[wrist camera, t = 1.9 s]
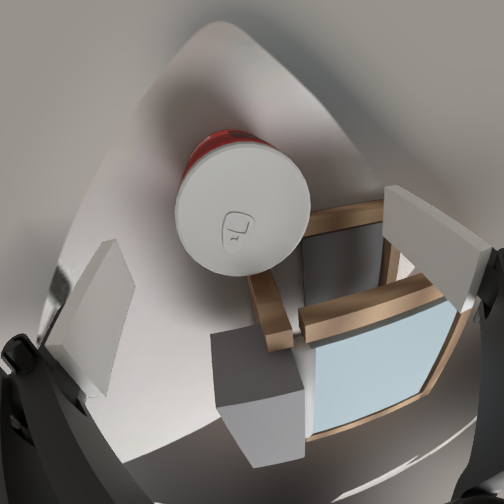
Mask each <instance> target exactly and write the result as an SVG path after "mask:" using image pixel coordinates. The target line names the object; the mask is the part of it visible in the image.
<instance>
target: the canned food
mask: <svg viewBox="0 0 504 504" xmlns="http://www.w3.org/2000/svg"><path fill="white" fill-rule="evenodd" d="M310 209H311V203H310V193H309V190H308V186H307V183H306V180H305V179H304V177H303V175H302V173H301V171H300V170H299V169H298V167H297V166H296V165H295V164H294V162H293V161H292V160H291V159H290V158H289V157H288V156H286V155H285V154H284V153H282V152H281V151H280V150H278V149H277V148H275V147H274V146H272V145H270V144H268V143H267V142H265V141H263V140H261V139H259V138H257V137H256V136H254V135H252V134H250V133H247V132H245V131H241V130H235V129H234V130H223V131H219V132H216V133H214V134H211V135H209V136H208V137H206V138H205V139H204V140H202V141H201V142H200V143H199V144H198V145H197V146H196V148H195V149H194V151H193V152H192V154H191V156H190V158H189V161H188V163H187V166H186V169H185V171H184V174H183V177H182V180H181V183H180V185H179V188H178V192H177V196H176V202H175V224H176V229H177V233H178V236H179V239H180V241H181V243H182V245H183V246H184V248H185V250H186V251H187V252H188V254H189V255H190V256H191V257H192V258H193V259H194V260H195V261H196V262H198V263H199V264H200V265H201V266H203V267H205V268H207V269H209V270H211V271H213V272H215V273H219V274H222V275H227V276H249V275H253V274H257V273H261V272H263V271H266V270H268V269H270V268H272V267H274V266H275V265H277V264H279V263H280V262H282V261H283V260H284V259H285V258H286V257H287V256H288V255H290V254H291V253H292V252H293V250H294V249H295V248H296V246H297V245H298V244H299V242H300V241H301V239H302V237H303V235H304V233H305V231H306V228H307V225H308V222H309V217H310Z"/></svg>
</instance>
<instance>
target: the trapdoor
mask: <svg viewBox="0 0 504 504" xmlns="http://www.w3.org/2000/svg"><path fill="white" fill-rule="evenodd" d="M456 312H457V310H456V308H455V307H454V306H453V305H452V304H451V303H450V302H449V301H448V300H447V299H446V298H445V296H443V297H440V298H438V299H436V300H433V301H431V302H428V303H426V304H423V305H421V306H418V307H416V308H413V309H411V310H408V311H405V312H403V313H400V314H397V315H395V316H392V317H389V318H386V319H383V320H381V321H378V322H375V323H372V324H369V325H366V326H363V327H360V328H357V329H353V330H350V331H347V332H344V333H340V334H337V335H334V336H330V337H327V338H323V339H320V340H316V341H312V342H309V343H306V342H305V340H304V337H303V335H302V336H298V337H296V338H295V339H294V340H293V345H294V346H293V347H291V348H290V347H289V348H285V349H281V350H277V351H273V352H268V349H267V345H266V341H265V337H264V333H263V330H262V326H261V324H258V325H254V326H249V327H244V328H239V329H235V330H230V331H224V332H219V333H214V334H210V338H211V353H212V367H213V380H214V392H215V403H216V409H217V411H218V412H219V414H220V416H221V417H222V419H223V421H224V422H225V424H226V426H227V427H228V429H229V431H230V432H231V434H232V435H233V437H234V439H235V441H236V442H237V444H238V445H239V447H240V448H241V450H242V451H243V453H244V455H245V456H246V458H247V459H248V461H249V462H250V464H251V465H252V467H253V468H257V467H262V466H267V465H273V464H277V463H282V462H286V461H291V460H295V459H299V458H302V457H305V438H308V437H310V436H311V435H312V434H313V433H317V432H320V431H324V430H327V429H330V428H333V427H336V426H339V425H342V424H345V423H348V422H351V421H354V420H356V419H359V418H362V417H364V416H367V415H369V414H372V413H374V412H377V411H379V410H382V409H384V408H386V407H389V406H391V405H393V404H396V403H398V402H400V401H402V400H404V399H406V398H408V397H410V396H413V395H415V394H417V393H418V392H419V390H420V389H421V387H422V385H423V383H424V381H425V380H426V378H427V376H428V374H429V372H430V370H431V368H432V366H433V364H434V362H435V360H436V358H437V356H438V354H439V352H440V350H441V348H442V346H443V343H444V341H445V339H446V337H447V334H448V332H449V330H450V327H451V325H452V322H453V320H454V317H455V315H456Z"/></svg>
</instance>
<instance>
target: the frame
mask: <svg viewBox="0 0 504 504" xmlns="http://www.w3.org/2000/svg"><path fill="white" fill-rule="evenodd" d="M383 211H384V199H382V200H376V201H370V202H364V203H358V204H353V205H347V206H341V207H336V208H330V209H325V210H319V211H314V212H310V217H309V222H308V225H307V228H306V231H305V233H304V235H303V237H302V239H301V249H302V263H303V279H304V297H305V307H303V308H299V309H298V317H299V327H300V330H301V332H302V335H303V337H304V340H305V342H306V343H309V342H312V341H316V340H320V339H323V338H327V337H330V336H334V335H337V334H340V333H344V332H347V331H350V330H353V329H357V328H360V327H363V326H366V325H369V324H372V323H375V322H378V321H381V320H383V319H386V318H389V317H392V316H395V315H397V314H400V313H403V312H405V311H408V310H411V309H413V308H416V307H418V306H421V305H423V304H426V303H428V302H431V301H433V300H436V299H438V298H440V297H443V296H444V295H443V294H442V293H441V292H440V291H439V290H438V289H437V288H436V287H435V286H434V285H433V284H432V283H431V282H430V281H429V280H428V279H427V278H426V277H425V276H424V275H423V274H422V273H420V274H417V275H414V276H411V277H408V278H405V279H401V280H398V281H396V277H397V271H398V265H399V258H400V251H399V250H398V249H396V248H395V247H394V246H393V245H392V244H391V243H390V242H389V241H388V240H387V239H386V238H384V237H383V236H382V228H383ZM247 280H248V285H249V290H250V295H251V300H252V305H253V310H254V315H255V320H256V325H258V324H261V326H262V330H263V333H264V337H265V341H266V345H267V349H268V352H273V351H277V350H281V349H285V348H289V347H290V348H291V347H293V346H294V345H293V340H294V339H295V338H293V332H292V327H291V325H290V322H289V319H288V317H287V314H286V311H285V309H284V306H283V303H282V301H281V298H280V295H279V293H278V290H277V288H276V285H275V282H274V280H273V277H272V274H271V272H270V269H268V270H266V271H263V272H261V273H257V274H253V275H249V276H247ZM474 302H475V301H474ZM472 307H473V306H472ZM471 309H472V308H470V309H468V310H466V311H464V312H462V313H459V312H458V311H457V312H456V315H455V317H454V320H453V322H452V325H451V327H450V330H449V332H448V334H447V337H446V339H445V341H444V343H443V346H442V348H441V350H440V352H439V354H438V356H437V358H436V360H435V362H434V364H433V366H432V368H431V370H430V372H429V374H428V376H427V378H426V380H425V381H424V383H423V385H422V387H421V389H420V390H419V392H418V393H417V394H415V395H413V396H410V397H408V398H406V399H404V400H402V401H400V402H398V403H396V404H393V405H391V406H389V407H386V408H384V409H382V410H379V411H377V412H374V413H372V414H369V415H367V416H364V417H362V418H359V419H356V420H354V421H351V422H348V423H345V424H342V425H339V426H336V427H333V428H330V429H327V430H324V431H320V432H317V433H313V434H312V435H311V436H310V437H308V438H305V439H306V442H308V441H312V440H315V439H319V438H322V437H326V436H329V435H332V434H335V433H338V432H341V431H344V430H347V429H350V428H352V427H355V426H358V425H361V424H363V423H366V422H368V421H371V420H373V419H376V418H378V417H381V416H383V415H385V414H388V413H390V412H392V411H394V410H397V409H399V408H401V407H403V406H405V405H407V404H409V403H411V402H413V401H415V400H417V399H419V398H421V397H423V396H425V395H427V394H429V392H430V390H431V389H432V387H433V386H434V384H435V382H436V381H437V379H438V377H439V375H440V374H441V372H442V370H443V368H444V366H445V364H446V363H447V361H448V359H449V357H450V355H451V353H452V351H453V349H454V347H455V345H456V343H457V341H458V339H459V337H460V335H461V332H462V330H463V328H464V326H465V324H466V321H467V319H468V317H469V314H470V312H471Z"/></svg>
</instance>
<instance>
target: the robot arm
mask: <svg viewBox="0 0 504 504" xmlns="http://www.w3.org/2000/svg"><path fill="white" fill-rule="evenodd" d="M382 236H383V237H384V238H386V239H387V240H388V241H389V242H390V243H391V244H392V245H393V246H394V247H395V248H396V249H398V250H399V251H400V252H401V253H402V254H403V255H404V256H405V257H406V258H407V259H408V260H409V261H410V262H411V263H412V264H413V265H414V266H415V267H416V268H418V270H419V271H420V272H421V273H422V274H423V275H424V276H425V277H426V278H427V279H428V280H429V281H430V282H431V283H432V284H433V285H434V286H435V287H436V288H437V289H438V290H439V291H440V292H441V293H442V294H443V295H444V296H445V298H446V299H447V300H448V301H449V302H450V303H451V304H452V305H453V306H454V307H455V308H456V310H457V311H458V312H459V313H462V312H464V311H466V310H468V309H470V308H472V306H473V304H474V301H475V299H476V296H477V295H478V296H479V297H480V299H481V302H480V305H479V307H478V309H477V312H476V314H475V316H474V319H473V322H474V323H475V322H476V319H477V318H478V317H480V320H479V322H478V323H480V330H481V380H480V396H479V406H478V415H477V423H476V430H475V435H474V441H473V446H472V451H471V456H470V460H469V463H468V465H467V467H466V468H465V470H464V471H463V473H462V474H461V476H460V478H459V479H458V482H457V484H456V487H455V489H454V492H453V496H452V498H451V501H450V502H448V503H446V504H504V499H502V498H498V497H496V496H497V494H498V493H499V492H500V491H501V490H503V489H504V248H502V249H499V250H498V251H497V250H495V249H494V248H493V247H491V246H490V245H489V244H487V243H486V242H485V241H483V240H482V239H481V238H479V237H478V236H476V235H475V234H474V233H472V232H471V231H470V230H468V229H467V228H465V227H464V226H462V225H461V224H460V223H458V222H457V221H455V220H454V219H452V218H451V217H449V216H447V215H446V214H444V213H443V212H441V211H440V210H438V209H437V208H435V207H433V206H432V205H430V204H428V203H427V202H425V201H424V200H422V199H420V198H418V197H417V196H415V195H413V194H412V193H410V192H408V191H406V190H405V189H403V188H401V187H399V186H397V185H391V186H384V211H383V228H382ZM135 287H136V286H135V284H134V281H133V279H132V277H131V274H130V272H129V270H128V267H127V265H126V263H125V260H124V258H123V255H122V253H121V250H120V248H119V245H118V243H117V240H116V239H113V240H109V241H105V242H102V243H101V245H100V247H99V248H98V250H97V251H96V253H95V254H94V256H93V257H92V259H91V261H90V262H89V264H88V265H87V267H86V269H85V270H84V272H83V274H82V275H81V277H80V279H79V280H78V282H77V284H76V285H75V287H74V289H73V291H72V292H71V294H70V296H69V298H68V300H67V302H65V303H64V304H63V305H62V306H61V308H60V309H59V310H58V311H57V313H56V315H55V317H54V319H53V321H52V323H51V325H50V329H48V331H47V333H46V335H45V337H44V339H43V341H42V343H41V345H40V347H39V349H38V350H37V348H36V347H35V346H34V345H33V343H32V342H31V341H30V339H29V338H28V336H26V334H23V333H22V334H18V335H16V336H14V337H12V338H11V339H10V340H9V341H8V342H7V343H6V345H5V346H4V348H3V350H2V352H1V358H2V359H3V361H4V362H5V363H6V364H7V365H8V367H9V368H10V369H11V370H12V372H11V374H9V375H7V374H6V373H5V371H4V370H3V369H2V368H1V367H0V504H154V503H153V502H152V500H151V499H150V498H149V497H148V496H147V495H146V493H145V492H144V491H143V490H142V489H141V488H140V486H139V485H138V484H137V483H136V481H135V480H134V479H133V478H132V476H131V475H130V474H129V472H128V471H127V470H126V468H125V467H124V466H123V464H122V463H121V462H120V460H119V459H118V457H117V456H116V455H115V453H114V452H113V450H112V449H111V447H110V446H109V444H108V443H107V441H106V440H105V438H104V436H103V435H102V433H101V432H100V430H99V428H98V427H97V425H96V423H95V422H94V420H93V418H92V417H91V415H90V413H89V411H88V410H87V408H86V406H85V402H86V395H87V396H88V397H106V395H107V390H108V385H109V381H110V376H111V372H112V368H113V364H114V360H115V356H116V352H117V348H118V344H119V340H120V336H121V333H122V329H123V326H124V322H125V319H126V315H127V312H128V309H129V305H130V302H131V299H132V296H133V293H134V290H135ZM85 394H86V395H85Z"/></svg>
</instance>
